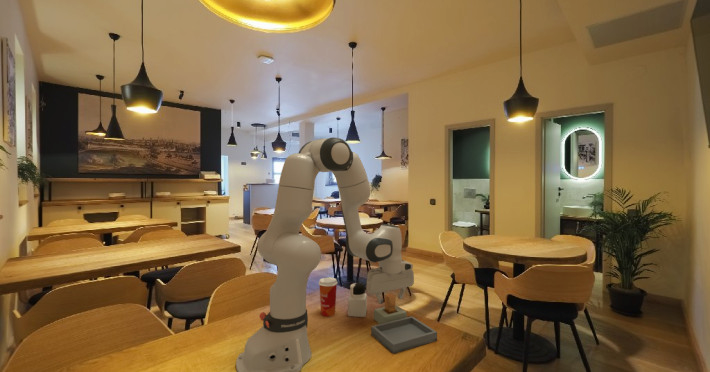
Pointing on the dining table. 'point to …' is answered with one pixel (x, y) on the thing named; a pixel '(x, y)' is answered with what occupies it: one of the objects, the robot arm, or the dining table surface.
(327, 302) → the paper cup
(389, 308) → the pin
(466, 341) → the dining table surface
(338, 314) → the dining table surface
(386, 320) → the socket block
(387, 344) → the tray
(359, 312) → the medicine bottle
